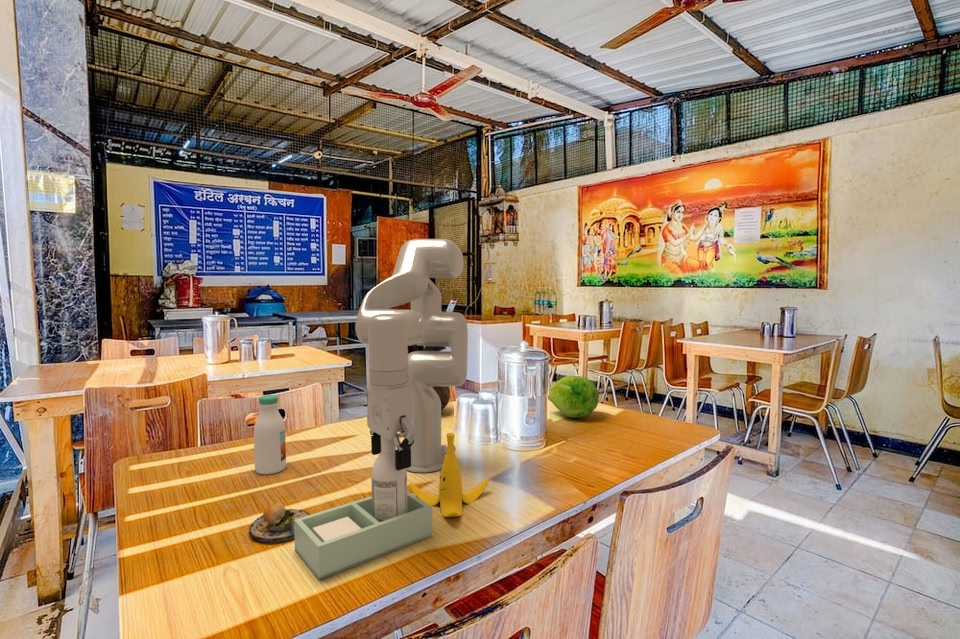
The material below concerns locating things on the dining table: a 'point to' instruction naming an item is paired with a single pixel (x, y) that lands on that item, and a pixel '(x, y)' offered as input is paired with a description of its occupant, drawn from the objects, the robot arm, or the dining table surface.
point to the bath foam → (388, 484)
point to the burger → (275, 524)
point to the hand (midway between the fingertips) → (390, 460)
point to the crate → (359, 535)
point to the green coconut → (574, 396)
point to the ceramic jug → (440, 390)
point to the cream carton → (335, 529)
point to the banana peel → (450, 486)
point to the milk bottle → (269, 437)
